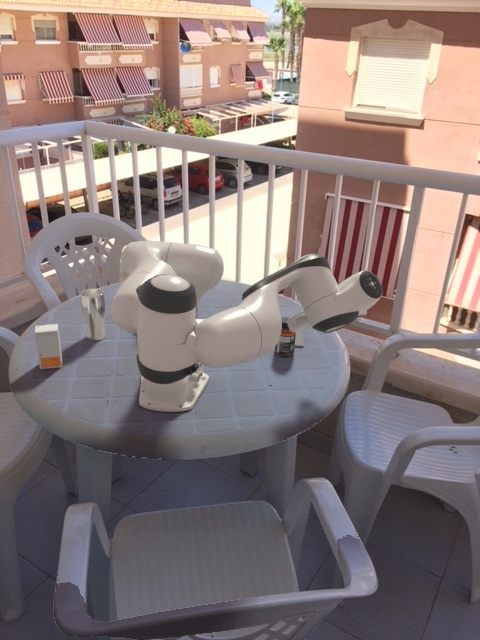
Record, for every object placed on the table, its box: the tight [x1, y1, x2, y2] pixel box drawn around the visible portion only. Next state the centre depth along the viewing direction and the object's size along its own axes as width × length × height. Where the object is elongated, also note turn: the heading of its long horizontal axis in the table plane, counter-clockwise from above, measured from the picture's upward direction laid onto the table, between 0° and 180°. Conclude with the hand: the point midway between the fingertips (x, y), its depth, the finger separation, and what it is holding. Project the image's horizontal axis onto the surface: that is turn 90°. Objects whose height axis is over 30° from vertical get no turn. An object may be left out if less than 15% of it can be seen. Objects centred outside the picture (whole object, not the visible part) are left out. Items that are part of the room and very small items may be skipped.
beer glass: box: [80, 287, 107, 342], centre depth 159 cm, size 7×7×15 cm
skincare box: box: [34, 323, 63, 370], centre depth 145 cm, size 6×4×12 cm
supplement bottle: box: [274, 316, 296, 358], centre depth 155 cm, size 6×6×11 cm
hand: (310, 325), depth 142 cm, fingers closed
